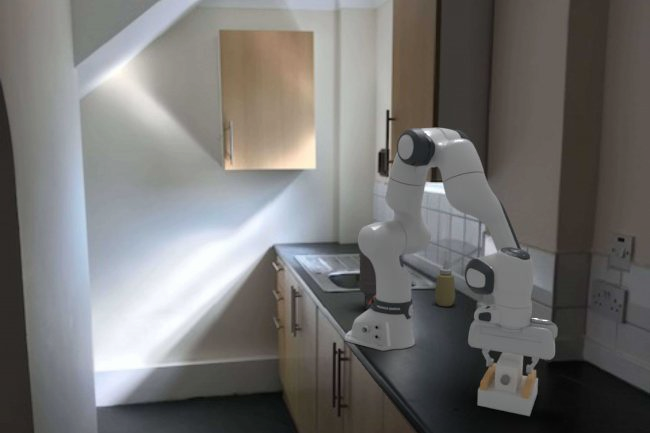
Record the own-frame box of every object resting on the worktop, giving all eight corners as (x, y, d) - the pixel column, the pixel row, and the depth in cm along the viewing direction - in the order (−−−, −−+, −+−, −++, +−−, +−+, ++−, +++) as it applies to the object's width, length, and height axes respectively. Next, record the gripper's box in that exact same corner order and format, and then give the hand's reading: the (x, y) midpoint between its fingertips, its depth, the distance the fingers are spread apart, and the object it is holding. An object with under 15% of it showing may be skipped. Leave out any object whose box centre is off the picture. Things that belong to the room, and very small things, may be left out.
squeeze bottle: (455, 308, 221) (457, 262, 219) (434, 307, 222) (435, 261, 220) (454, 302, 229) (456, 258, 227) (434, 301, 230) (435, 258, 228)
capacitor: (381, 315, 210) (383, 235, 207) (351, 309, 218) (352, 232, 215) (400, 307, 221) (402, 231, 217) (370, 302, 229) (372, 228, 225)
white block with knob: (501, 374, 146) (502, 351, 145) (522, 377, 144) (523, 354, 143) (493, 391, 136) (494, 366, 135) (515, 395, 134) (516, 370, 133)
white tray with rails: (477, 405, 137) (478, 381, 137) (489, 384, 150) (490, 362, 149) (529, 416, 132) (531, 391, 131) (537, 393, 144) (538, 370, 144)
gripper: (559, 317, 136) (555, 373, 138) (473, 306, 146) (471, 358, 147) (556, 324, 131) (553, 382, 132) (467, 312, 140) (465, 366, 142)
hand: (509, 369), depth 140 cm, fingers open, 8 cm apart
